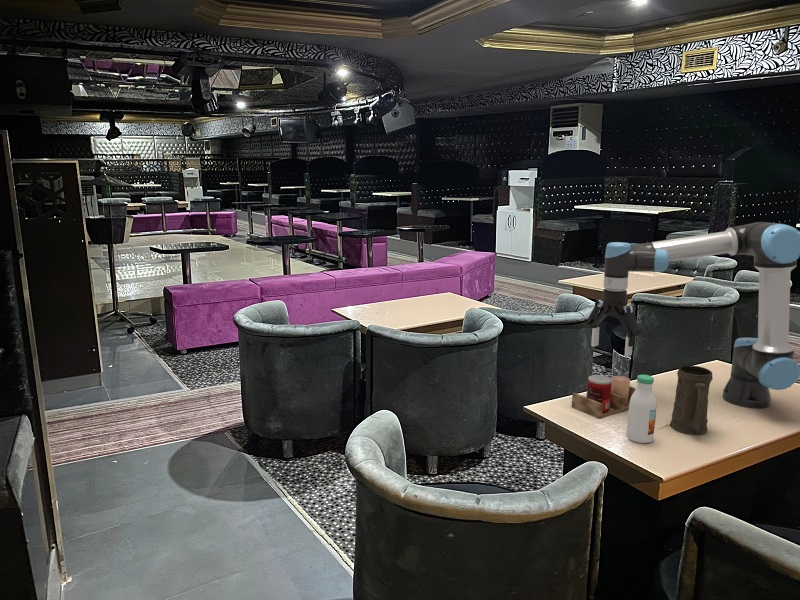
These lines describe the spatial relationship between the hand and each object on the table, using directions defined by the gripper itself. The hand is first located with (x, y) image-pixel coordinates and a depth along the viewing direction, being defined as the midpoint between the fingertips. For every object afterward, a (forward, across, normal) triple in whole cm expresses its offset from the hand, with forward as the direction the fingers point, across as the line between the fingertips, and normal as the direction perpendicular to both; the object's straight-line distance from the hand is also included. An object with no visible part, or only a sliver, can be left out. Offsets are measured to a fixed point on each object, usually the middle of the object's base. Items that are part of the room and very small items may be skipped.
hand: (611, 350), depth 201 cm
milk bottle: (+21, +21, -11) cm, 32 cm away
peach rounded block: (+20, 0, +6) cm, 21 cm away
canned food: (+20, 0, -5) cm, 21 cm away
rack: (+21, 0, 0) cm, 21 cm away
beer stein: (+22, +26, +8) cm, 35 cm away
